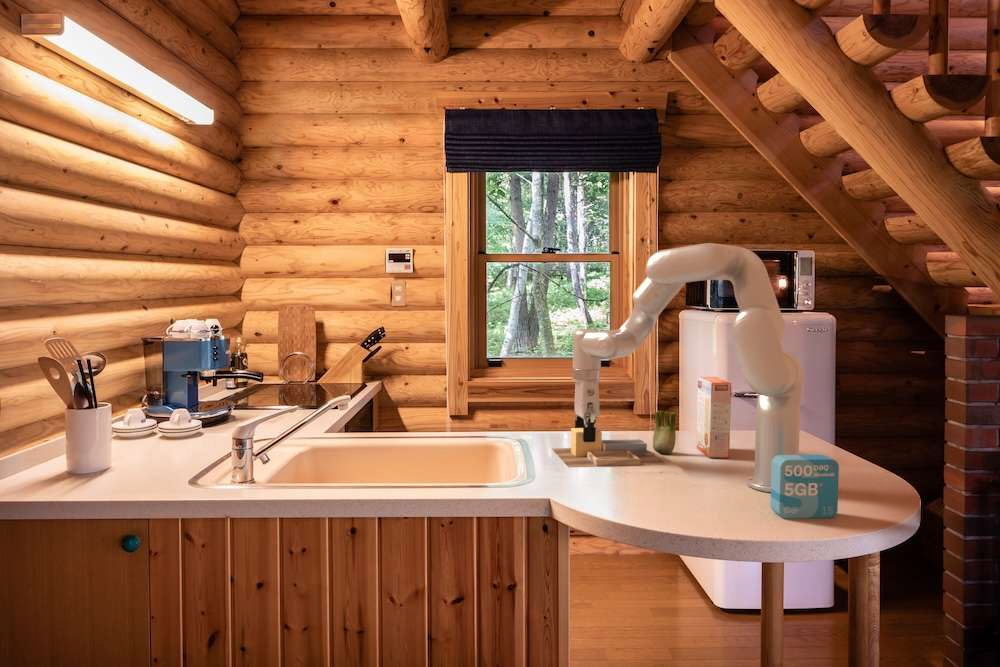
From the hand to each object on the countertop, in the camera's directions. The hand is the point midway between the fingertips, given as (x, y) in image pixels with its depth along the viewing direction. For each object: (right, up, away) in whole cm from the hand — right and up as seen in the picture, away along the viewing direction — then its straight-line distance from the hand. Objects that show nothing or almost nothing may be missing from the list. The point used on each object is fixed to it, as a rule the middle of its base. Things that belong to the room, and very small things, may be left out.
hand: (584, 437), depth 200 cm
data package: (+39, -9, -50) cm, 64 cm away
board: (+6, -6, -3) cm, 9 cm away
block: (0, -4, 0) cm, 4 cm away
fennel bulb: (+23, -6, +6) cm, 24 cm away
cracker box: (+37, -6, +7) cm, 38 cm away
